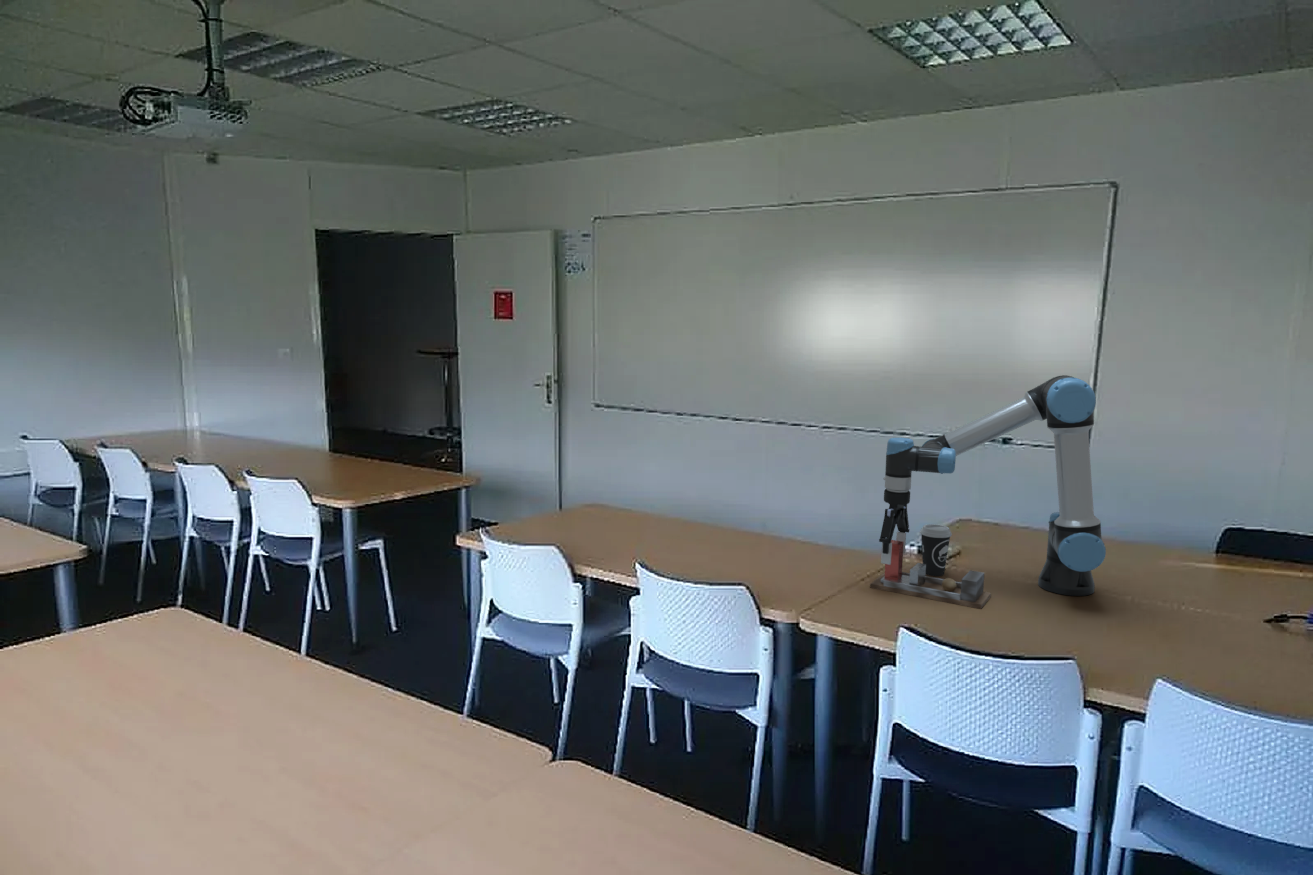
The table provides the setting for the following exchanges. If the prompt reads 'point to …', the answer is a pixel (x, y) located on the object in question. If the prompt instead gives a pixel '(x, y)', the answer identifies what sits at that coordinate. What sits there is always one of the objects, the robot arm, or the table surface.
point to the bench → (964, 594)
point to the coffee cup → (935, 548)
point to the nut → (949, 585)
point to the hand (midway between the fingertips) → (893, 558)
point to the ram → (895, 568)
